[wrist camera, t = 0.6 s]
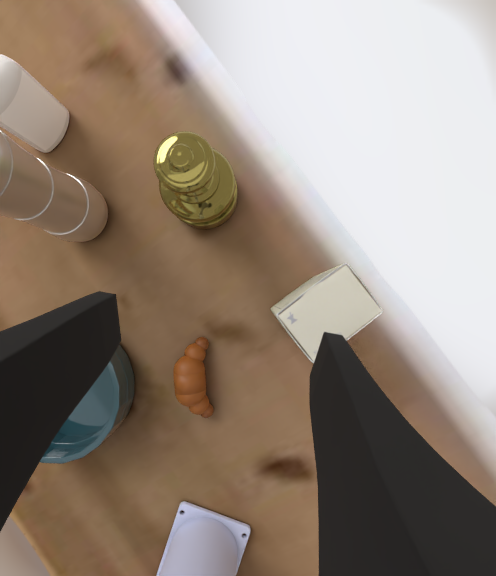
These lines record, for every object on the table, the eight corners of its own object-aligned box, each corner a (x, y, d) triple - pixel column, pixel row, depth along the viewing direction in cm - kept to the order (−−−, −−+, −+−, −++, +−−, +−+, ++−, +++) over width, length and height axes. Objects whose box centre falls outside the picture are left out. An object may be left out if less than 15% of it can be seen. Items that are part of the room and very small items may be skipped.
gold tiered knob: (208, 244, 33) (185, 223, 23) (158, 200, 33) (113, 161, 23) (252, 192, 33) (248, 149, 23) (201, 149, 33) (174, 88, 23)
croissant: (181, 415, 33) (173, 429, 30) (176, 337, 33) (167, 342, 30) (215, 413, 33) (209, 427, 29) (209, 335, 33) (203, 340, 30)
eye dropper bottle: (82, 132, 34) (-17, 44, 22) (41, 159, 34) (-79, 86, 22) (62, 100, 34) (-46, -6, 22) (21, 127, 34) (-109, 37, 22)
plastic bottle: (74, 255, 34) (-202, 201, 14) (49, 202, 34) (-259, 71, 14) (125, 229, 33) (-79, 136, 13) (99, 175, 34) (-140, 4, 14)
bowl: (114, 459, 33) (94, 482, 29) (5, 419, 34) (-29, 436, 30) (152, 345, 33) (137, 353, 29) (42, 308, 34) (12, 310, 30)
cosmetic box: (293, 340, 32) (311, 369, 20) (268, 307, 32) (271, 316, 20) (340, 305, 32) (387, 313, 20) (315, 272, 32) (347, 260, 20)
